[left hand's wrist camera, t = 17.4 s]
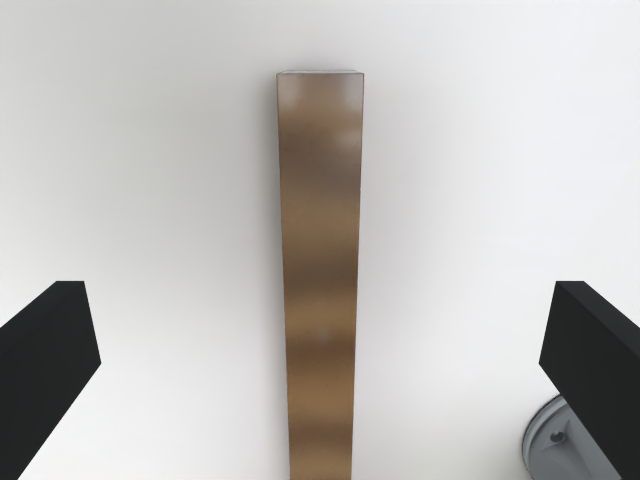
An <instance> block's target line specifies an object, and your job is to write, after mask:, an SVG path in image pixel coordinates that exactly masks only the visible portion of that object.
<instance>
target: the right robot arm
mask: <svg viewBox="0 0 640 480" xmlns="http://www.w3.org/2000/svg"><path fill="white" fill-rule="evenodd" d="M523 458H524V462H525V465H526V467H527V469H528V471H529V473H530V475H531V477H532V479H533V480H622V478H621V477H620V475H619V474H618V473H617V471H616V470H615V469H614V467H613V466H612V464H611V463H610V462H609V460H608V459H607V457H606V456H605V455H604V453H603V452H602V451H601V449H600V448H599V446H598V445H597V444H596V442H595V441H594V439H593V438H592V437H591V435H590V434H589V433H588V431H587V430H586V428H585V427H584V426H583V424H582V423H581V421H580V420H579V419H578V417H577V416H576V415H575V413H574V412H573V410H572V409H571V408H570V406H569V405H568V403H567V402H566V401H565V399H564V398H563V397H562V395H561V396H559V397H558V398H556V399H555V400H553V401H552V402H551V403H549V404H548V405H547V406H546V407H544V408H543V409H542V410H541V411H540V412H539V413H538V414H537V416H536V417H535V418H534V420H533V421H532V423H531V424H530V426H529V428H528V430H527V432H526V434H525V437H524V441H523Z"/></svg>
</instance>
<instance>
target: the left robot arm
mask: <svg viewBox="0 0 640 480" xmlns="http://www.w3.org/2000/svg"><path fill="white" fill-rule="evenodd" d="M100 365H101V359H100V355H99V350H98V345H97V340H96V336H95V331H94V326H93V321H92V317H91V312H90V307H89V303H88V298H87V293H86V288H85V284H84V281H56V282H55V283H53V284H52V285H51V286H50V287H49V288H47V289H46V290H45V291H44V292H43V293H41V294H40V295H39V296H38V297H37V298H35V299H34V300H33V301H32V302H31V303H29V304H28V305H27V306H26V307H25V308H24V309H22V310H21V311H20V312H19V313H18V314H16V315H15V316H14V317H13V318H12V319H10V320H9V321H8V322H7V323H6V324H4V325H3V326H2V327H1V328H0V480H18V478H19V477H20V475H21V474H22V473H23V471H24V470H25V469H26V467H27V466H28V464H29V463H30V462H31V460H32V459H33V457H34V456H35V455H36V453H37V452H38V451H39V449H40V448H41V446H42V445H43V444H44V442H45V441H46V439H47V438H48V437H49V435H50V434H51V433H52V431H53V430H54V428H55V427H56V426H57V424H58V423H59V421H60V420H61V419H62V417H63V416H64V415H65V413H66V412H67V410H68V409H69V408H70V406H71V405H72V403H73V402H74V401H75V399H76V398H77V397H78V395H79V394H80V392H81V391H82V390H83V388H84V387H85V385H86V384H87V383H88V381H89V380H90V379H91V377H92V376H93V374H94V373H95V372H96V370H97V369H98V367H99V366H100ZM539 365H540V366H541V367H542V369H543V370H544V372H545V373H546V374H547V376H548V377H549V379H550V380H551V381H552V383H553V384H554V385H555V387H556V388H557V390H558V391H559V392H560V394H561V395H562V397H563V398H564V399H565V401H566V402H567V403H568V405H569V406H570V408H571V409H572V410H573V412H574V413H575V415H576V416H577V417H578V419H579V420H580V421H581V423H582V424H583V426H584V427H585V428H586V430H587V431H588V433H589V434H590V435H591V437H592V438H593V439H594V441H595V442H596V444H597V445H598V446H599V448H600V449H601V451H602V452H603V453H604V455H605V456H606V457H607V459H608V460H609V462H610V463H611V464H612V466H613V467H614V469H615V470H616V471H617V473H618V474H619V475H620V477H621V478H622V480H640V328H639V327H638V326H637V325H636V324H634V323H633V322H632V321H631V320H630V319H628V318H627V317H626V316H625V315H624V314H622V313H621V312H620V311H619V310H618V309H616V308H615V307H614V306H613V305H612V304H610V303H609V302H608V301H607V300H606V299H605V298H603V297H602V296H601V295H600V294H599V293H597V292H596V291H595V290H594V289H593V288H591V287H590V286H589V285H588V284H587V283H585V282H584V281H556V284H555V288H554V293H553V298H552V303H551V307H550V312H549V317H548V321H547V326H546V331H545V336H544V340H543V345H542V350H541V355H540V359H539Z"/></svg>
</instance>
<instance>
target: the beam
mask: <svg viewBox="0 0 640 480" xmlns="http://www.w3.org/2000/svg"><path fill="white" fill-rule="evenodd" d="M363 91H364V73H360V72H357V71H284V72H280V73H277V101H278V130H279V160H280V189H281V218H282V248H283V277H284V307H285V336H286V365H287V395H288V424H289V454H290V480H351V466H352V435H353V404H354V372H355V341H356V310H357V279H358V248H359V216H360V185H361V154H362V123H363Z"/></svg>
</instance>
